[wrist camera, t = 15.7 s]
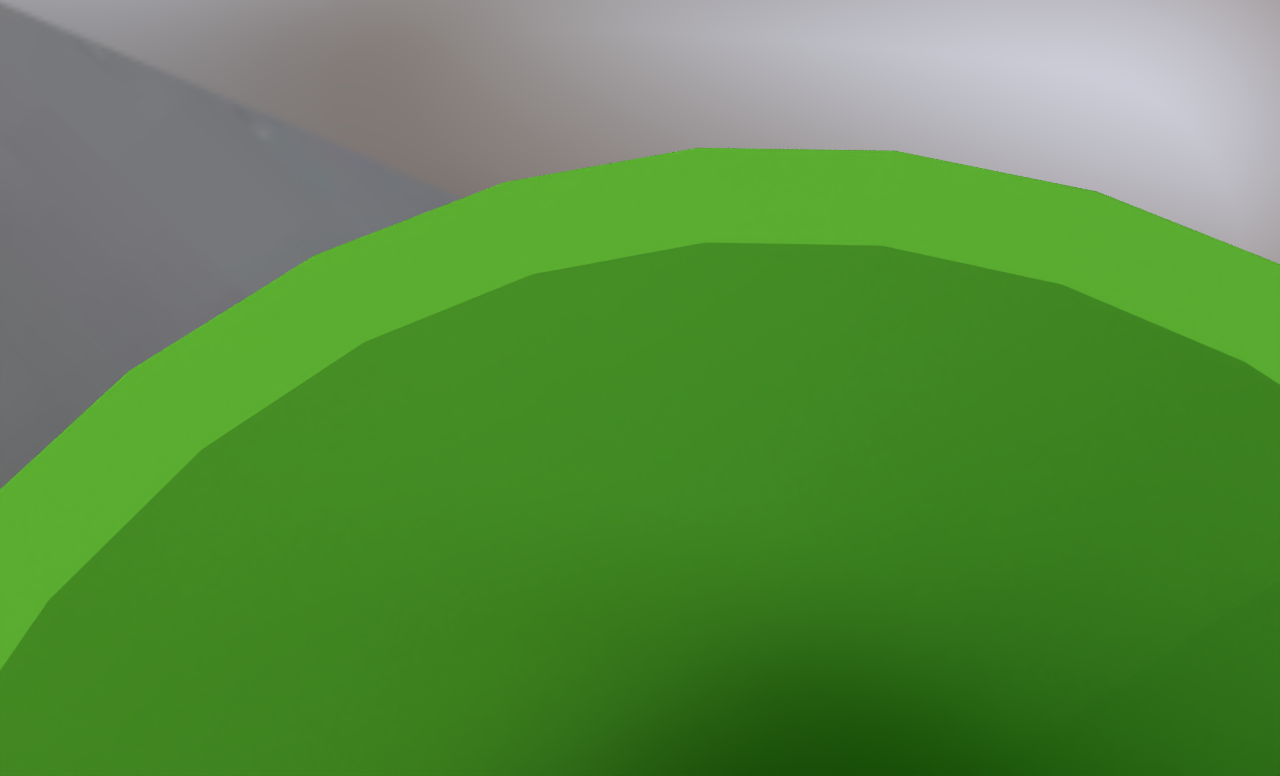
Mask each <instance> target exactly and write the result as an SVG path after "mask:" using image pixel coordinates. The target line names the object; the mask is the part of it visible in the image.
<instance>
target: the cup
mask: <svg viewBox="0 0 1280 776" xmlns="http://www.w3.org/2000/svg"><path fill="white" fill-rule="evenodd" d="M0 776H1280V264H1278V263H1276V262H1273V261H1271V260H1268V259H1266V258H1263V257H1261V256H1258V255H1255V254H1253V253H1250V252H1248V251H1245V250H1243V249H1240V248H1238V247H1235V246H1233V245H1230V244H1228V243H1225V242H1223V241H1220V240H1218V239H1215V238H1212V237H1210V236H1208V235H1205V234H1203V233H1200V232H1198V231H1195V230H1192V229H1190V228H1187V227H1185V226H1182V225H1180V224H1177V223H1175V222H1172V221H1170V220H1167V219H1165V218H1162V217H1160V216H1157V215H1155V214H1152V213H1150V212H1147V211H1145V210H1142V209H1140V208H1137V207H1135V206H1132V205H1129V204H1127V203H1124V202H1122V201H1119V200H1117V199H1114V198H1112V197H1109V196H1107V195H1104V194H1102V193H1099V192H1096V191H1091V190H1087V189H1082V188H1077V187H1071V186H1067V185H1062V184H1057V183H1052V182H1047V181H1042V180H1037V179H1032V178H1027V177H1022V176H1017V175H1012V174H1007V173H1002V172H998V171H992V170H988V169H983V168H978V167H973V166H968V165H963V164H958V163H953V162H948V161H943V160H938V159H933V158H928V157H923V156H918V155H913V154H908V153H904V152H899V151H875V150H872V151H871V150H806V149H805V150H804V149H800V150H799V149H737V148H732V149H731V148H730V149H729V148H695V149H689V150H684V151H678V152H672V153H666V154H661V155H655V156H650V157H644V158H638V159H633V160H627V161H621V162H616V163H610V164H605V165H599V166H594V167H588V168H582V169H576V170H571V171H565V172H559V173H554V174H548V175H543V176H537V177H531V178H526V179H521V180H515V181H509V182H504V183H501V184H499V185H496V186H493V187H491V188H488V189H486V190H483V191H480V192H478V193H475V194H473V195H470V196H467V197H465V198H462V199H460V200H457V201H454V202H452V203H449V204H447V205H444V206H441V207H439V208H436V209H434V210H431V211H428V212H426V213H423V214H421V215H418V216H415V217H413V218H410V219H408V220H405V221H403V222H400V223H397V224H395V225H392V226H390V227H387V228H384V229H382V230H379V231H377V232H374V233H371V234H369V235H366V236H364V237H361V238H358V239H356V240H353V241H351V242H348V243H345V244H343V245H340V246H338V247H335V248H332V249H330V250H327V251H325V252H322V253H319V254H317V255H314V256H313V257H311V258H310V259H308V260H306V261H305V262H303V263H302V264H300V265H298V266H297V267H295V268H294V269H292V270H290V271H289V272H287V273H285V274H284V275H282V276H281V277H279V278H277V279H276V280H274V281H273V282H271V283H269V284H268V285H266V286H265V287H263V288H261V289H260V290H258V291H257V292H255V293H253V294H252V295H250V296H249V297H247V298H245V299H244V300H242V301H241V302H239V303H237V304H236V305H234V306H233V307H231V308H229V309H228V310H226V311H225V312H223V313H221V314H220V315H218V316H217V317H215V318H213V319H212V320H210V321H209V322H207V323H205V324H204V325H202V326H201V327H199V328H197V329H196V330H194V331H193V332H191V333H189V334H188V335H186V336H185V337H183V338H181V339H180V340H178V341H177V342H175V343H173V344H172V345H170V346H169V347H167V348H165V349H164V350H162V351H161V352H159V353H157V354H156V355H154V356H153V357H151V358H149V359H148V360H146V361H145V362H143V363H141V364H140V365H138V366H136V367H135V368H133V369H132V370H130V371H128V372H127V373H126V374H125V375H124V376H123V377H122V378H121V379H120V380H119V381H118V382H117V383H115V384H114V385H113V386H112V387H111V388H110V389H109V390H108V391H107V392H106V393H105V394H104V395H102V396H101V397H100V398H99V399H98V400H97V401H96V402H95V403H94V404H93V405H92V406H90V407H89V408H88V409H87V410H86V411H85V412H84V413H83V414H82V415H81V416H80V417H79V418H77V419H76V420H75V421H74V422H73V423H72V424H71V425H70V426H69V427H68V428H67V429H65V430H64V431H63V432H62V433H61V434H60V435H59V436H58V437H57V438H56V439H55V440H54V441H52V442H51V443H50V444H49V445H48V446H47V447H46V448H45V449H44V450H43V451H42V452H40V453H39V454H38V455H37V456H36V457H35V458H34V459H33V460H32V461H31V462H30V463H29V464H27V465H26V466H25V467H24V468H23V469H22V470H21V471H20V472H19V473H18V474H17V475H15V476H14V477H13V478H12V479H11V480H10V481H9V482H8V483H7V484H6V485H5V486H4V487H2V488H1V489H0Z"/></svg>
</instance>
